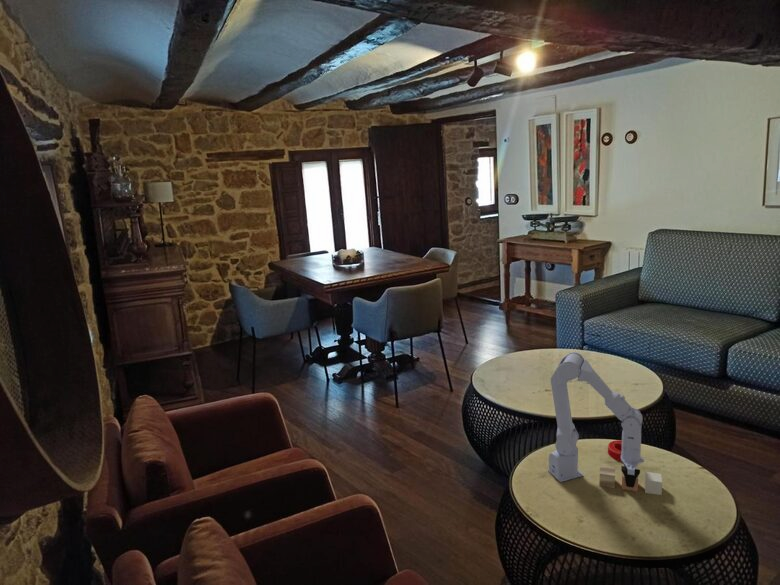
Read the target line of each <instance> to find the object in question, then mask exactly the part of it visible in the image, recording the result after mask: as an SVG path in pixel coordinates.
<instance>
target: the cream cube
mask: <svg viewBox="0 0 780 585" xmlns="http://www.w3.org/2000/svg"><path fill="white" fill-rule="evenodd" d="M662 491H663V478H662V473H656V472H650V471H649V472H648V471H645V472H644V492H645V493H646V494H652V495H659V496H662Z"/></svg>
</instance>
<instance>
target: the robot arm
mask: <svg viewBox="0 0 780 585" xmlns="http://www.w3.org/2000/svg"><path fill="white" fill-rule="evenodd" d="M575 379H577V380H576V381H577V382H586V383H588V384H589V385H590V386H591V387H592V388H593V390H595V391H596V392H597V393H598V394H599V395H600V396H601V397H602V398H604V405H605V406H606V407H607V408H608V409H609V410H610V411H611V413H612V414H614V416H615V417H616V418H617V419H618V420H620V422H621V423H620V425H621V428H622V432H621V441H622V453H621V460H622V461H621V462H622V463H623V465H621V467H620V468H621V469H620V470H621V473H622V472H623V474H624V477H625V482H626V486H627V487H634V485H635V481H636V478H637V477H638V478H639V476H640V474H641V469H639V468H637V467H639V465H640V463H644V462H645V458H644V457H642V456H641V453H642V452H641V451H642V450H641V449H642V427H643V426H642V424H643V414H642V413H641V411H640V410H639V409H638V408H635V407H632V406H631V405H630V403H629V402H628V401H627V400H626V397H625V395H624V394H622V395H621V394H620V393H619V392H616V391H613V390H611V388H610V387H609V386H608V385H607V383H606V382H605V381H604V379H602V377H601V376H599V374H598V373H597V372H596V371H595V370H594V369H593V367H592V366H591V364H590V362H589V361H588V360H587V359H585V358H584V356H583V355H582V354H580V353H579V352H574V351H573V352H569V353H568V354H566V355H565V356H564V357H563V358H561V361H560V363H559V364H558V365H557V367H556V369H555V370H554V372H553V374H552V376H551V377H550V385H551V391H552V398H553V405H554V412H555V419H556V426H557V430H556V441H555V443H554V444H555V445H554V447H555V449H554V451H552V452H550V453H549V454H548V469H547V471H548V472H549V473H550V475H552V476H553V477H554V478H555V479H556V480H558V482H560V483H562V482H565V481H569V480H573V479H576V478H580V477H583V476H584V473H583V472H581V471H580V469H579V449H578V446H577V442H578V441H579V440H580V439H579V438H580V435H579V433H578V431H577V429H576V427H575V423H573V417H572V413H571V412H572V411H571V403H570V397H569V391H568V390H569V389H568V384H567V383H568V382H570V381H572V380H575Z"/></svg>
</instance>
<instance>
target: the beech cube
mask: <svg viewBox="0 0 780 585" xmlns="http://www.w3.org/2000/svg"><path fill="white" fill-rule="evenodd" d="M598 481H599V482H598V484H599V485H598V486H600V487H605V486H607V487H606V488H611V487H615V486H616V467H612V466H605V465H599V480H598Z"/></svg>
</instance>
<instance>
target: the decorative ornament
mask: <svg viewBox="0 0 780 585" xmlns="http://www.w3.org/2000/svg"><path fill="white" fill-rule="evenodd" d="M621 453H622V439H621V440H617V439H616V440H613V441H610V442H609V443H608V445H607V455H608V456H609V457H611V458H612V459H614V460H617V461H621V462H622V460H621Z"/></svg>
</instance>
